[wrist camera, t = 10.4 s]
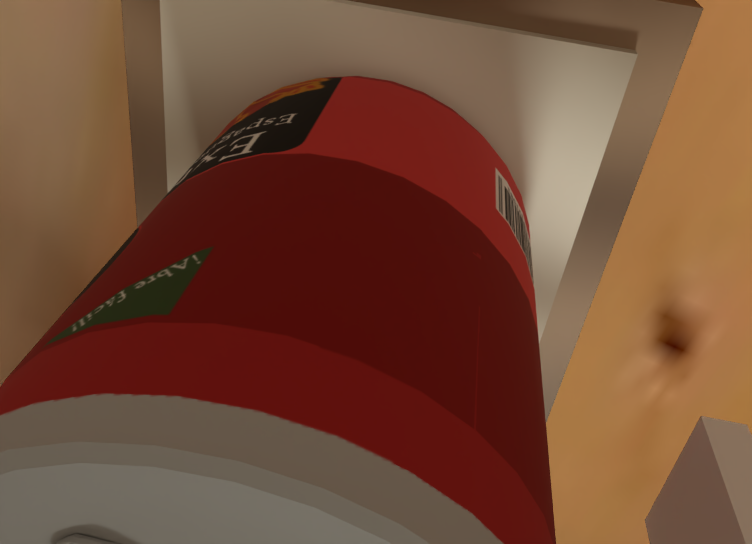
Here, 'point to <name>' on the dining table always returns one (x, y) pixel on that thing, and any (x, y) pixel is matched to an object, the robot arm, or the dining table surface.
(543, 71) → the base
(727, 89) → the dining table surface
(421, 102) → the canned food
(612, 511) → the dining table surface
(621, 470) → the dining table surface
